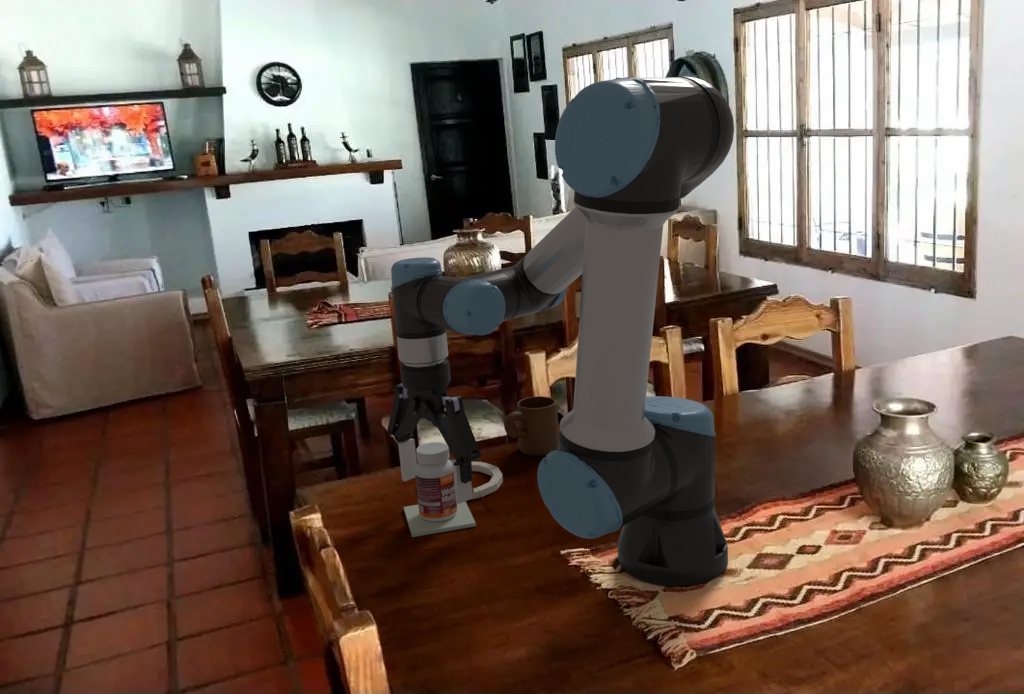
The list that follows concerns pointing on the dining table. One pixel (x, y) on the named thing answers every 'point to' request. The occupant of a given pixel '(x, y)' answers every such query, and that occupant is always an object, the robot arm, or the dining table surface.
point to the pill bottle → (435, 482)
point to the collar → (492, 484)
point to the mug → (535, 425)
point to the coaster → (428, 527)
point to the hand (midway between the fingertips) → (436, 489)
